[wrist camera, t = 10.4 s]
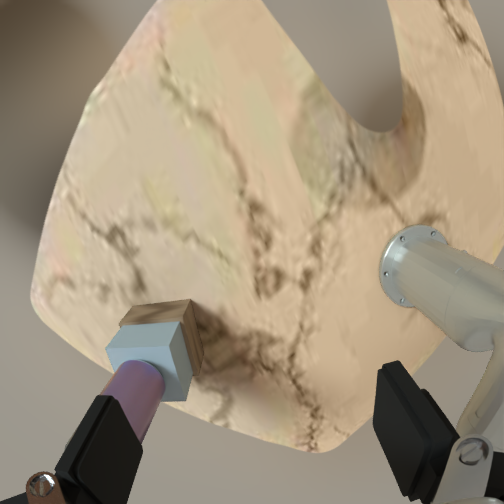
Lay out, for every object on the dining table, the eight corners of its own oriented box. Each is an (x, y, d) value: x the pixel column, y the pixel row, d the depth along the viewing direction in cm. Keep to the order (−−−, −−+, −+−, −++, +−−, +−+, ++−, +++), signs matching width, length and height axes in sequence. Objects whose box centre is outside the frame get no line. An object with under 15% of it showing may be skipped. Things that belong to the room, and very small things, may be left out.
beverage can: (146, 350, 31) (84, 449, 17) (177, 389, 33) (136, 493, 18) (110, 365, 32) (48, 452, 18) (140, 401, 34) (94, 492, 19)
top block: (179, 321, 37) (168, 345, 32) (193, 373, 39) (185, 401, 34) (122, 325, 38) (105, 348, 32) (139, 374, 40) (126, 401, 34)
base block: (190, 298, 43) (182, 317, 37) (204, 352, 45) (198, 375, 39) (133, 305, 43) (118, 323, 38) (149, 356, 46) (138, 378, 40)
